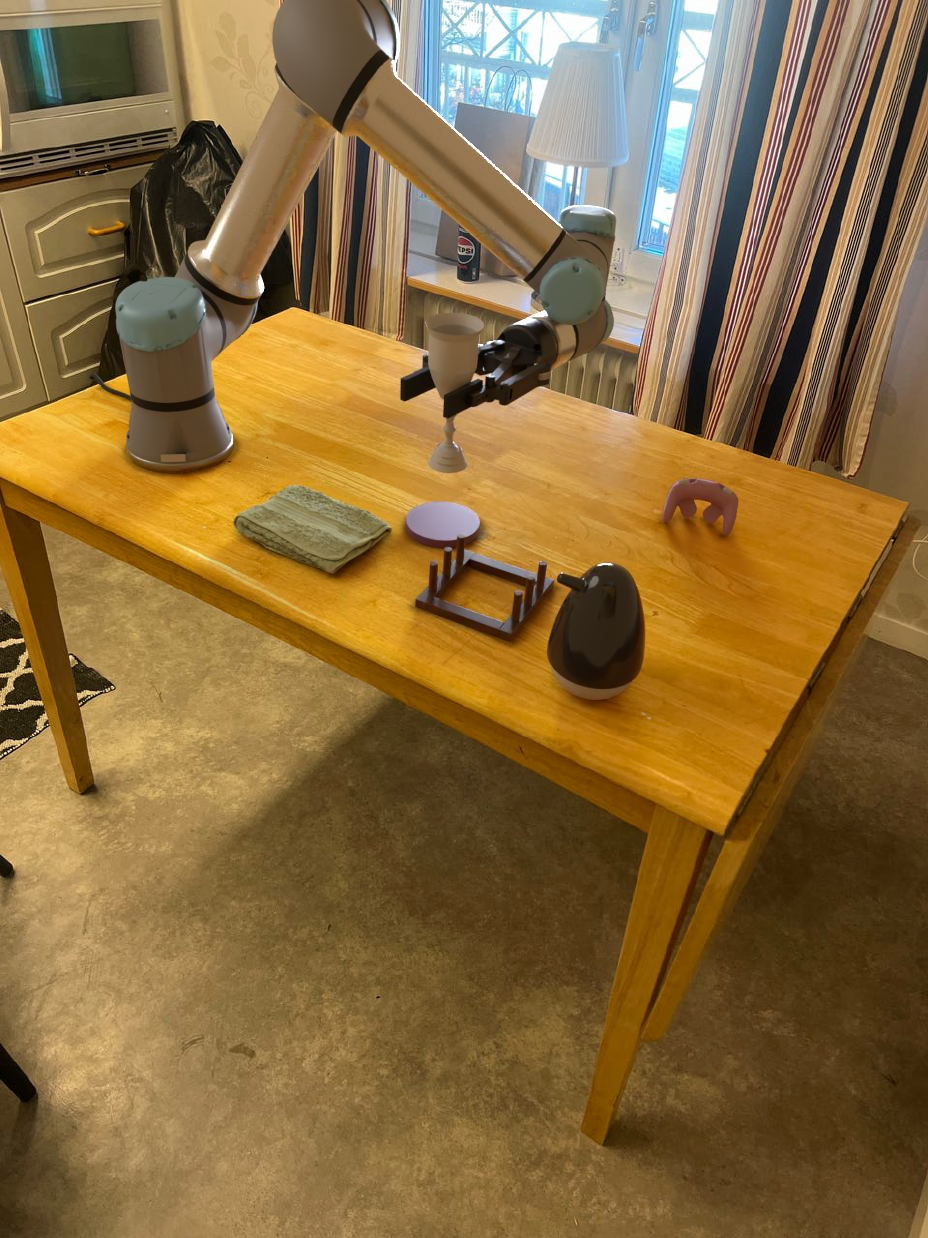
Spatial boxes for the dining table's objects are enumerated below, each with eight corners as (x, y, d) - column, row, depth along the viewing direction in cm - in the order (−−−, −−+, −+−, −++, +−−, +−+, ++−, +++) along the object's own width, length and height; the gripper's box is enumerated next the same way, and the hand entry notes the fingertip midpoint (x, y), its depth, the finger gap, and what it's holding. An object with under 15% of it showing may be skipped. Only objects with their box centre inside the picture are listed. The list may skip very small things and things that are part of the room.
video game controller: (730, 535, 126) (743, 486, 124) (731, 537, 121) (744, 487, 120) (661, 520, 128) (673, 472, 126) (659, 521, 123) (671, 472, 122)
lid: (391, 533, 118) (391, 525, 117) (428, 501, 125) (428, 494, 124) (457, 556, 115) (458, 548, 114) (491, 521, 122) (492, 514, 121)
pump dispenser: (534, 652, 100) (550, 538, 91) (624, 651, 101) (649, 539, 92) (548, 715, 92) (567, 598, 83) (646, 714, 93) (675, 598, 84)
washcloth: (334, 583, 108) (333, 561, 106) (228, 534, 115) (225, 513, 113) (397, 537, 117) (397, 516, 115) (295, 494, 124) (294, 474, 122)
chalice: (468, 480, 110) (477, 338, 99) (414, 472, 111) (418, 330, 100) (479, 454, 116) (489, 316, 105) (428, 446, 116) (433, 309, 105)
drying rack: (414, 607, 106) (416, 572, 103) (463, 556, 115) (466, 523, 112) (510, 642, 101) (514, 607, 98) (553, 587, 110) (558, 554, 107)
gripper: (591, 393, 116) (486, 453, 101) (476, 354, 125) (364, 404, 110) (599, 337, 112) (491, 391, 97) (480, 300, 120) (363, 344, 105)
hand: (424, 398), depth 103 cm, fingers closed on chalice, 6 cm apart
